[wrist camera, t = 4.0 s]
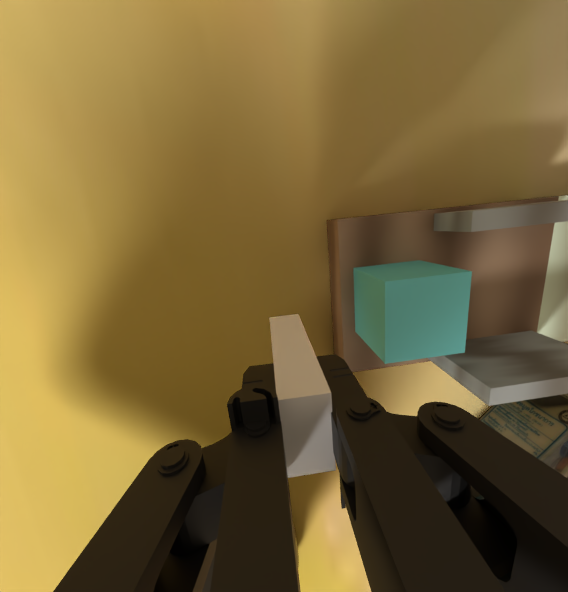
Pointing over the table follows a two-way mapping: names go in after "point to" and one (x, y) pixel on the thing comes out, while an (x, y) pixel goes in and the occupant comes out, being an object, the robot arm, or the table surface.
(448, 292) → the teal block
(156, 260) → the table surface
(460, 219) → the brown piece
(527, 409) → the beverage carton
